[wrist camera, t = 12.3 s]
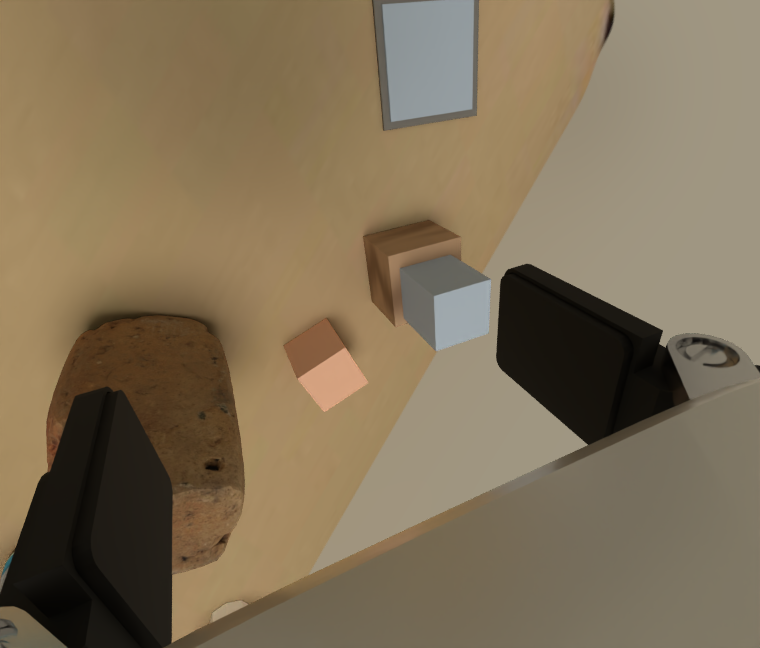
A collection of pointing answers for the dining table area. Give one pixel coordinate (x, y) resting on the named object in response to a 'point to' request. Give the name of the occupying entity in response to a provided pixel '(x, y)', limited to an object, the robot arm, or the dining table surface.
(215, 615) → the cup
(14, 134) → the dining table surface
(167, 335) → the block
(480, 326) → the slate block
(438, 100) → the swatch
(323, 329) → the terracotta block
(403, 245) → the walnut block
